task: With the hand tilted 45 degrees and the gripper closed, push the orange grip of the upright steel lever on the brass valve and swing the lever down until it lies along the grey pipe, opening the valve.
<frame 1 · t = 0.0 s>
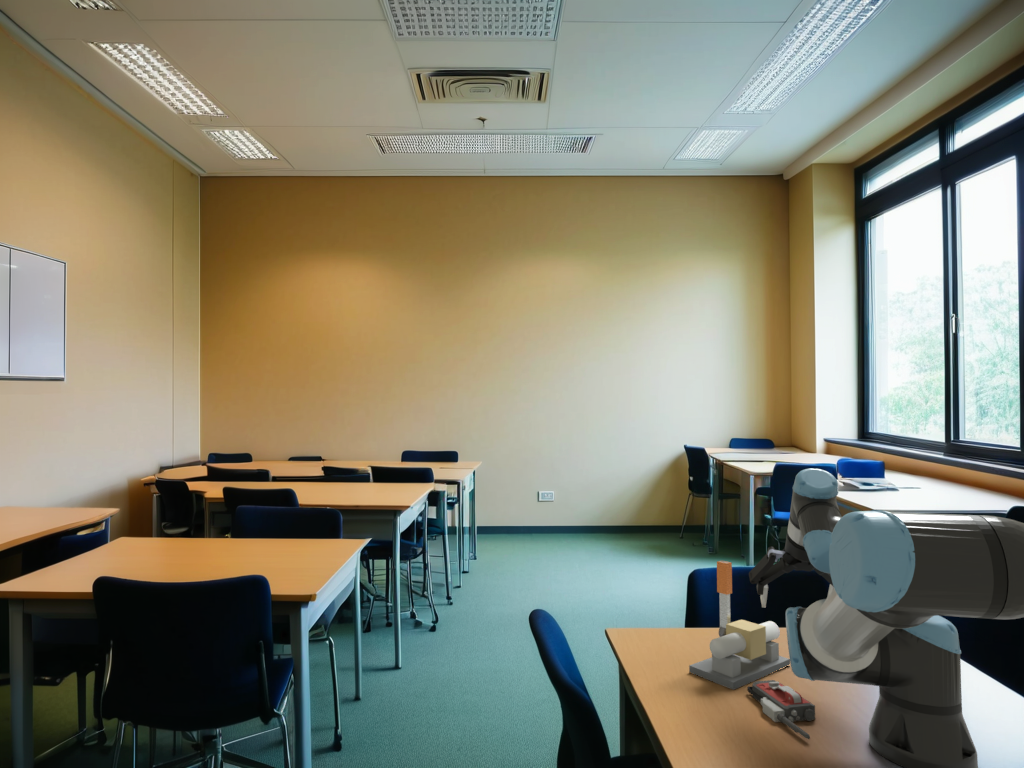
hand: (795, 605, 135), 15 cm above the table, tool tilted 35°, fingers open, 13 cm apart
walkie-talkie: (788, 718, 116), on the table
valve rig: (740, 669, 137), on the table
valve lever: (724, 600, 141), point 14 cm above the table, hinge at 0.0°
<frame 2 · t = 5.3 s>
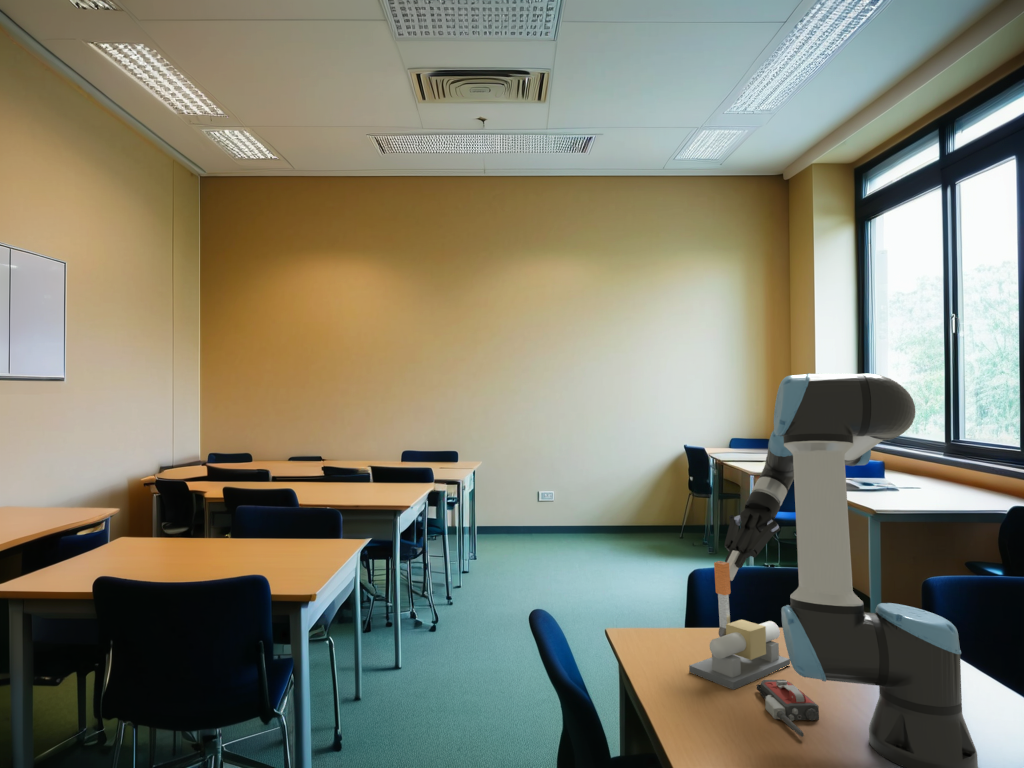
hand: (727, 576, 143), 19 cm above the table, tool tilted 45°, fingers closed
valve lever: (723, 600, 141), point 14 cm above the table, hinge at 3.7°, touching gripper
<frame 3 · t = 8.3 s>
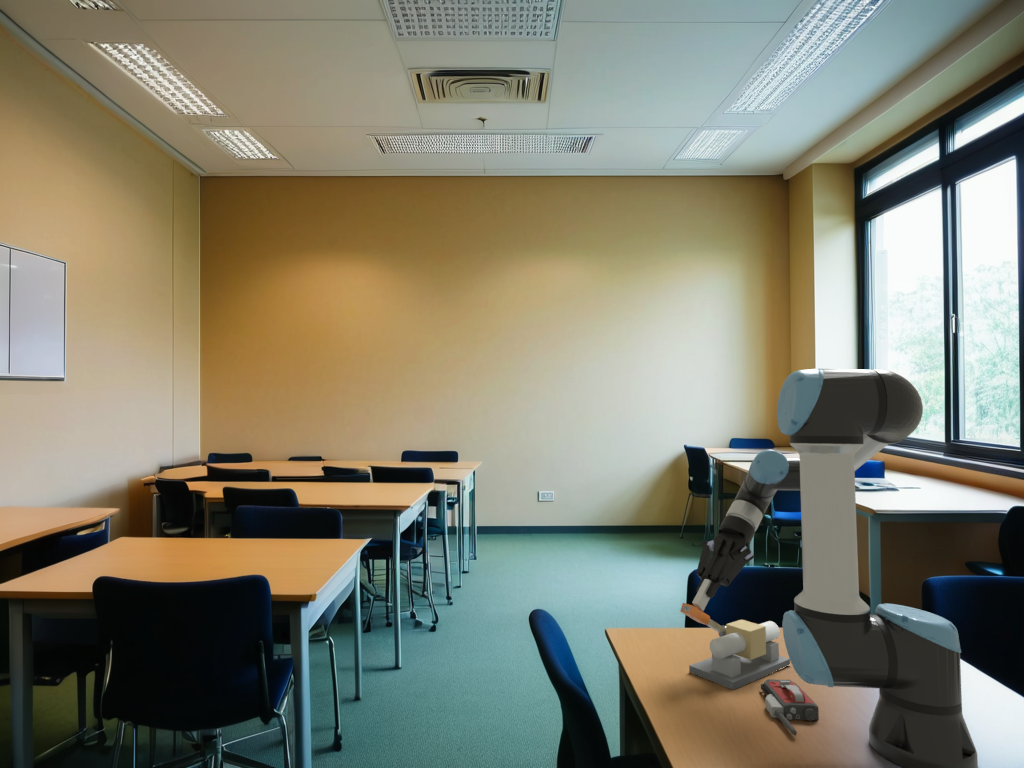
hand: (697, 607, 136), 14 cm above the table, tool tilted 45°, fingers closed
valve lever: (708, 621, 137), point 11 cm above the table, hinge at 61.0°, touching gripper
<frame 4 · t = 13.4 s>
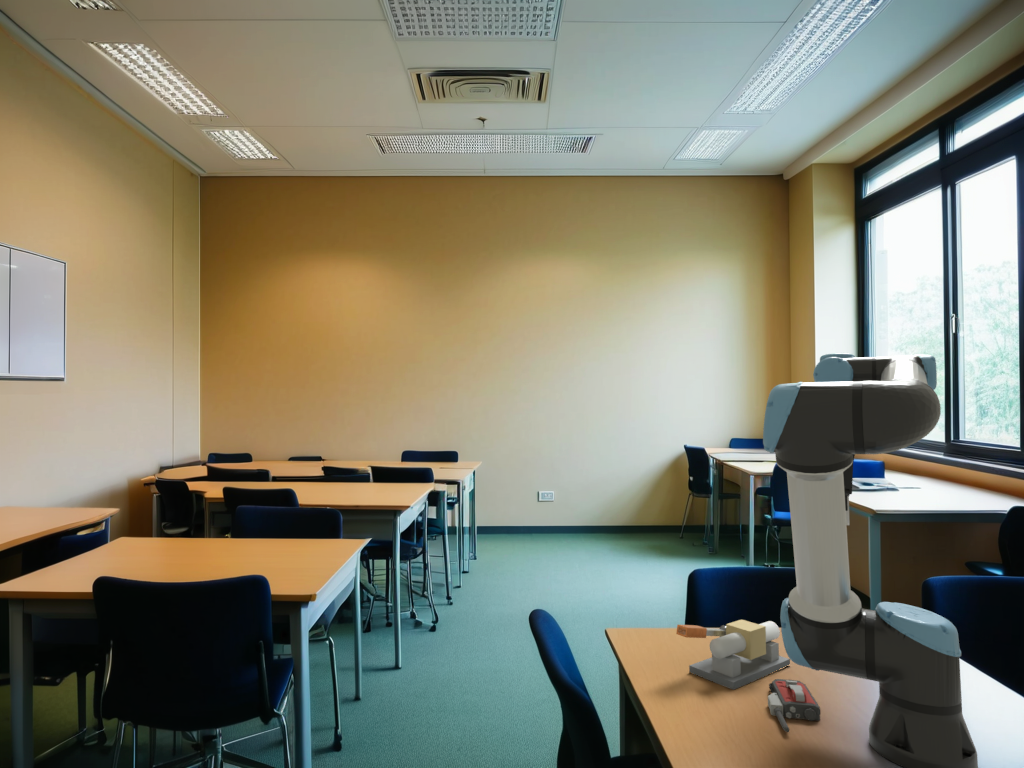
hand: (842, 524, 139), 32 cm above the table, tool pointing down, fingers closed
valve lever: (706, 631, 137), point 9 cm above the table, hinge at 78.1°
at the end: valve lever at +78° (first picture: +0°); walkie-talkie moved 1.9 cm from its start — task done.
